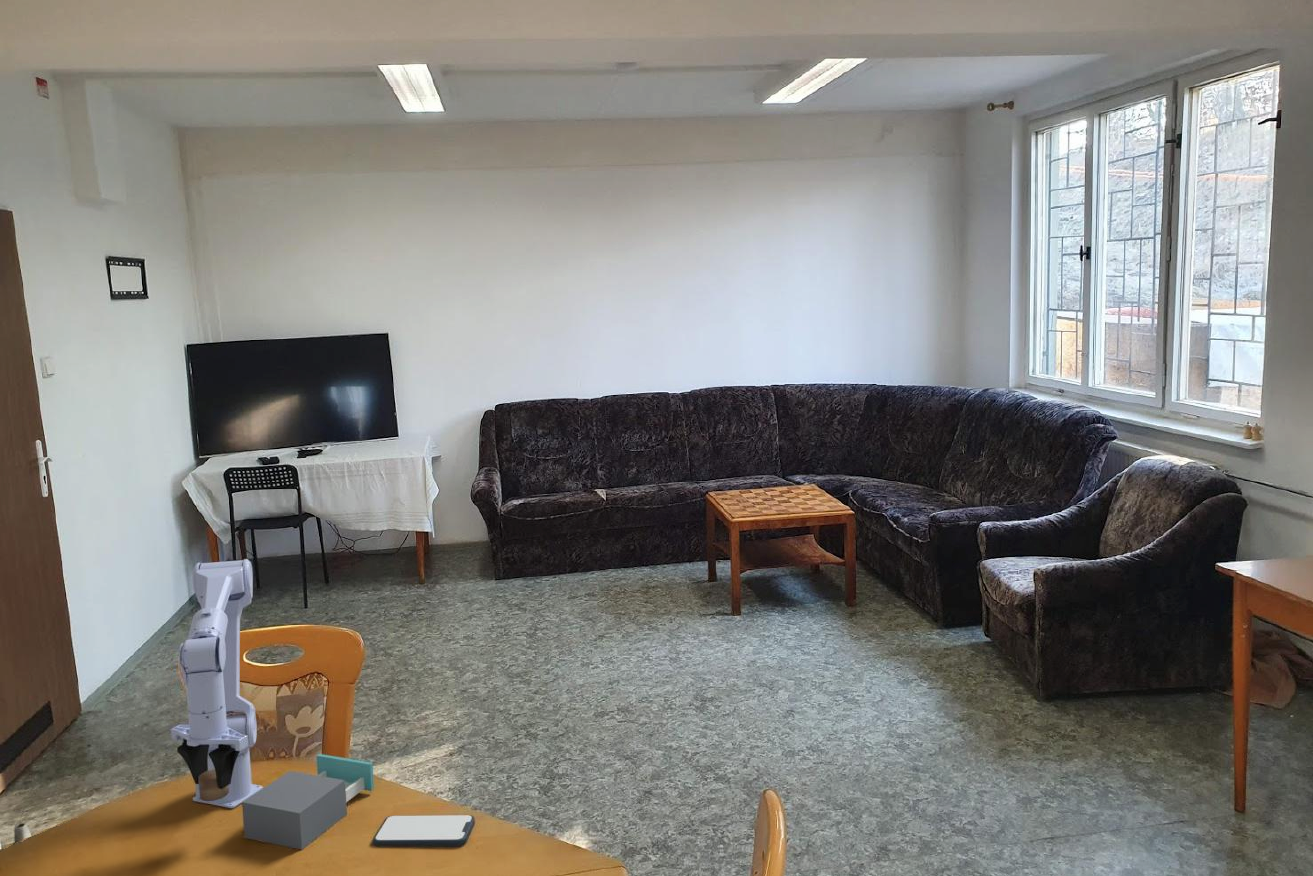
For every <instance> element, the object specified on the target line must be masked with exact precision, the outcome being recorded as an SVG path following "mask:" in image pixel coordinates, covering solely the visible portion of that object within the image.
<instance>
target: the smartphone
mask: <svg viewBox="0 0 1313 876" xmlns="http://www.w3.org/2000/svg"><path fill="white" fill-rule="evenodd" d="M475 825H476V819H475V816H473V815H471V814H438V815H437V814H434V815H432V814H428V815H427V814H424V815H423V814H419V815H410V814H409V815H404V814H403V815H389V816H387V817H385V818H384V820H383V821H382V823H381V825H380V827H379V828H378V829H377V831H376V833H375V834H374V836H373V838H372V845H374V846H375V847H383V848H384V847H389V848H390V847H391V848H395V847H398V848H401V847H402V848H403V847H404V848H408V847H409V848H423V847H424V848H461V847H464V846H465V845H466V844H467V843H468V840H469V838H470V836H471V833H472V832H473V828H474V827H475Z"/></svg>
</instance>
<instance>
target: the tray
mask: <svg viewBox="0 0 1313 876" xmlns="http://www.w3.org/2000/svg"><path fill="white" fill-rule="evenodd" d="M316 769H317V770H316V771H317V775H318V776H324V777H329V778H335V779H341V780H345V788H346V803H347V802H349V801H350V800H351V799H353V798H354V797H355V796H357V795H358V794H359V793H361V792H362V791H363V790H364V791H368V792H369V791H370V792H372V791H374V790H375V783H374V779H375V778H374V766H373V762H371V761H364V760H358V759H354V758H353V759H352V758H346V757H341V756H334V755H328V754H324V753H323V754H322V753H319V754H317V755H316Z"/></svg>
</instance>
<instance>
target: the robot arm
mask: <svg viewBox="0 0 1313 876" xmlns="http://www.w3.org/2000/svg"><path fill="white" fill-rule="evenodd" d="M192 570H193V571H192V587H193V591H194V593H195V596H196V598H197V602H198V603H199V605H200V607H201V608H200V609H199V610H198V611H197V612H195V613H194V615H193V617H192V620H191V623H190V628H189V632H188V636H187V639H186V640H185V642H182V643H181V644H180V645H179V653H178V660H179V661H178V662H179V668H180V673H181V675H182V683H183V686H185V687H186V688H185V689H186V690H185V692H186V701H187V703H186V704H187V714H188V724H178V725H176V726H174V727H173V728H171V729H170V734H171V740H173V741H178V740H182V744H180V745H178V746H177V748H176V752H177V754H179V755H180V756H181V758H182V759H183V760H184V762H185V763H186V765H187V767H188V770H189V772H190V774H191V776H192V779H193V781H194V786H195V796H193V797H192V801H193V802H197V803H198V802H199V803H203V804H206V805H207V804H208V805H213V806H218V807H221V808H222V807H223V808H228V809H234V808H236V807H237V806H239V805H240V804H242V802H243V801H244V800H246V799H248V798H249V797H251V796H252V795H254V794H255V793H257V792H258V791H260V790H261V789H263V788H264V787H263V786H262V785H259V784H254V783H253V782H252V781H253V780H252V769H251V755H250V748H253V746H254V745H255V744H256V741H257V736H258V735H257V733H258V732H257V731H258V726H257V718H256V717H257V716H256V708H255V706H254V704H253V703H252V702H250V701H249V700H248V699H245V698H244V697H243V696H241V695H240V686H241V685H240V681H241V679H240V678H241V677H240V670H241V666H240V665H241V664H240V662H241V661H240V659H241V658H240V654H241V651H240V650H241V649H240V648H241V643H240V641H241V617H242V612H243V609H244V608H246V607H247V606H249V605H251V604H252V598H253V594H254V593H253V592H254V591H253V589H254V587H253V580H254V578H253V565H252V561H250V560H249V559H247V558H244V559H242V560H241V559H239V560H228V561H217V562H215V561H214V562H203V563H202V562H197V563H196V564H195V565H194V567H193V569H192ZM212 769H215V772H216V779H217V784H218V787H219V788H220V789H223V788H224V787H226V786H228V787H229V793H228V794H227V795H226V796H225V797H223V798H221V799H218V800H215V801H203V800H201V799H200V793H199V781H198V777H199V775H200V774H202V773H204V772H206V771H209V770H212Z"/></svg>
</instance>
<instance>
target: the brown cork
mask: <svg viewBox="0 0 1313 876" xmlns="http://www.w3.org/2000/svg"><path fill="white" fill-rule="evenodd" d="M198 781H199V793H200V799H201V800H203V801H215V800H218V799H221V798H223V797H225V796H226V795H227V794H228V793H229V787H228V786H226V787H224V788H223V789H220V788H219V787H218V784H217V779H216V772H215V769H212V770H209V771H206V772H204V773H202V774H200V775H199V777H198Z"/></svg>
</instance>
